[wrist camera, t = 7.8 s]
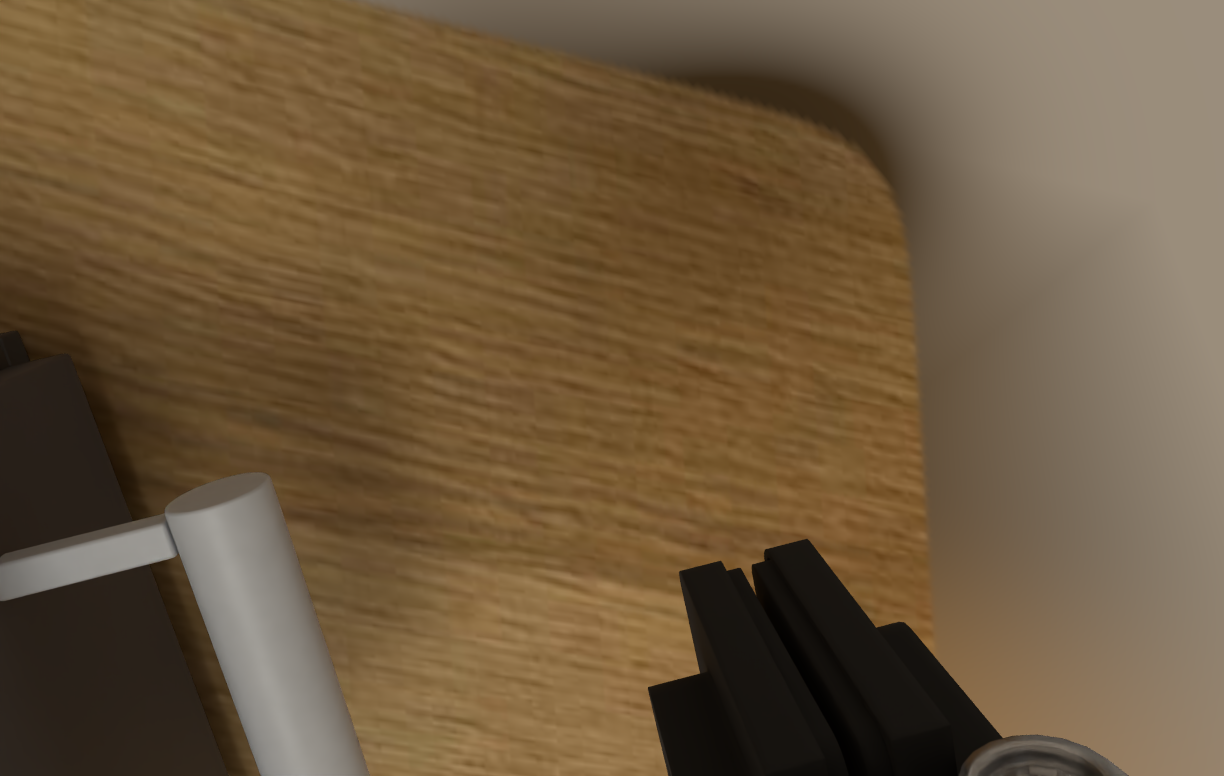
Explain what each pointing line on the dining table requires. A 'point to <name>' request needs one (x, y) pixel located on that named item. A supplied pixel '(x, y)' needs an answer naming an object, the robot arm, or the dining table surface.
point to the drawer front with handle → (145, 611)
